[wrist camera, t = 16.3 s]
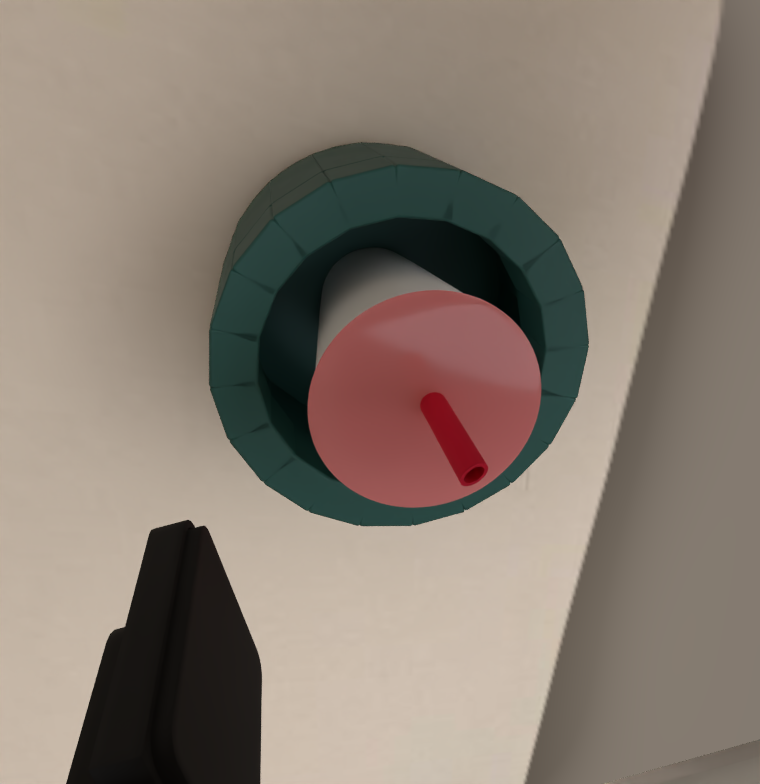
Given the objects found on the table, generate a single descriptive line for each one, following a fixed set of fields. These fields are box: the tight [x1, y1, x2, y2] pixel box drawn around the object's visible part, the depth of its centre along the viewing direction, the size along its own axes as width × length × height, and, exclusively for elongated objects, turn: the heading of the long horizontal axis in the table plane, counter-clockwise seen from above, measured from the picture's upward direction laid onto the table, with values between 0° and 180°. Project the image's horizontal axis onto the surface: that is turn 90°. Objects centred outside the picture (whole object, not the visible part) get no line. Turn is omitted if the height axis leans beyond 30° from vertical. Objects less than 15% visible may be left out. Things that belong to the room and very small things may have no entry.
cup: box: [308, 247, 541, 508], centre depth 18 cm, size 5×5×12 cm
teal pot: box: [209, 142, 589, 526], centre depth 21 cm, size 10×10×7 cm
